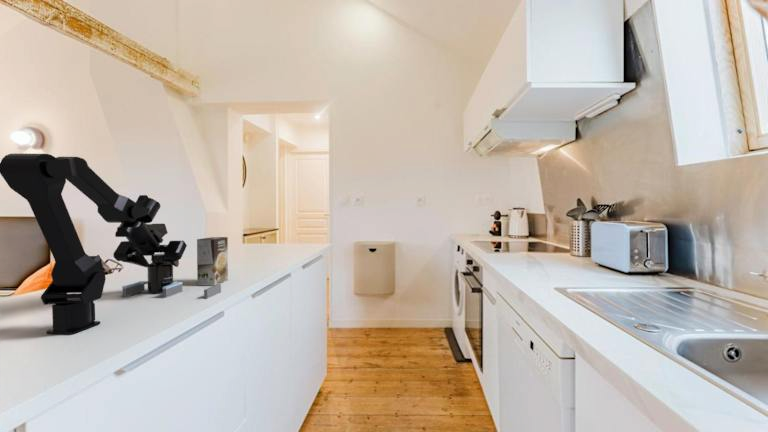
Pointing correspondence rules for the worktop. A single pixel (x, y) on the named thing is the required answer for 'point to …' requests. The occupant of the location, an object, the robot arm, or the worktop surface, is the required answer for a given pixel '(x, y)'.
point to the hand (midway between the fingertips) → (162, 266)
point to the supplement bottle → (159, 273)
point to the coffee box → (212, 260)
